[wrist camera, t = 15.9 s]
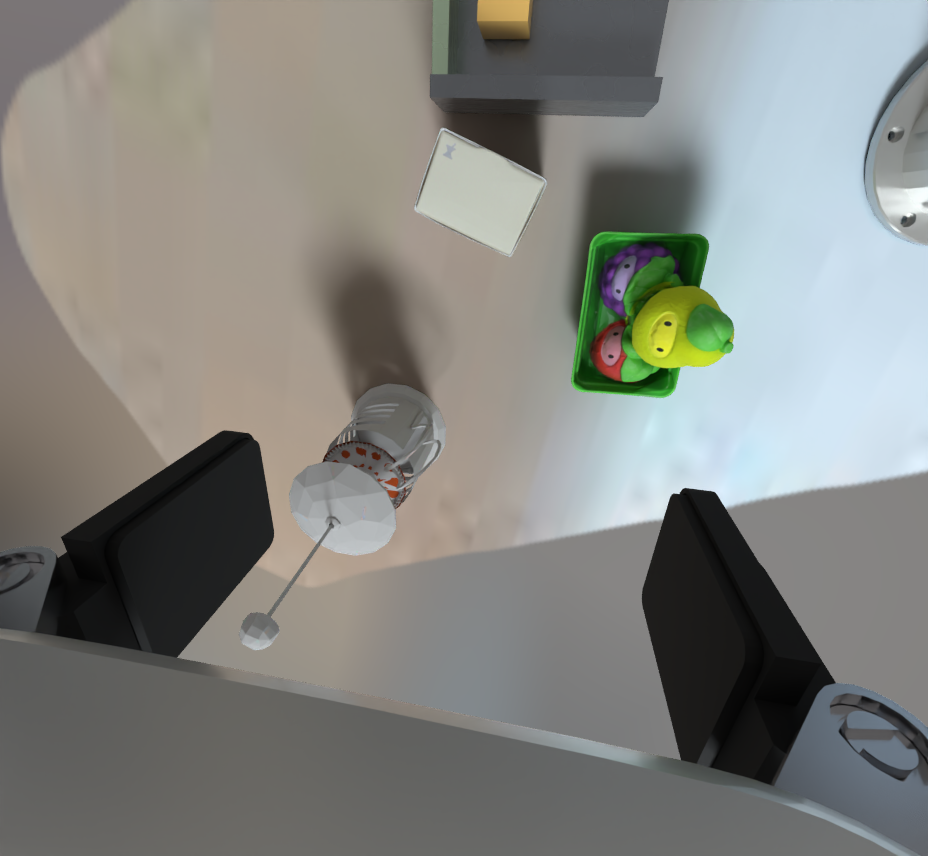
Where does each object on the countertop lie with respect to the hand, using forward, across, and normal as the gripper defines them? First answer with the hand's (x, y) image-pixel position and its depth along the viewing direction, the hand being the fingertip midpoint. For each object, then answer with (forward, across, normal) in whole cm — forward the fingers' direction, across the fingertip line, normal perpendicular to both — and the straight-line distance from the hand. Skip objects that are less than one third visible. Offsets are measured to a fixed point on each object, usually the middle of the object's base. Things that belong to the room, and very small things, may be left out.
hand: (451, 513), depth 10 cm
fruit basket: (+31, -9, 0) cm, 32 cm away
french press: (+31, +10, +13) cm, 35 cm away
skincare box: (+31, +2, -7) cm, 31 cm away
